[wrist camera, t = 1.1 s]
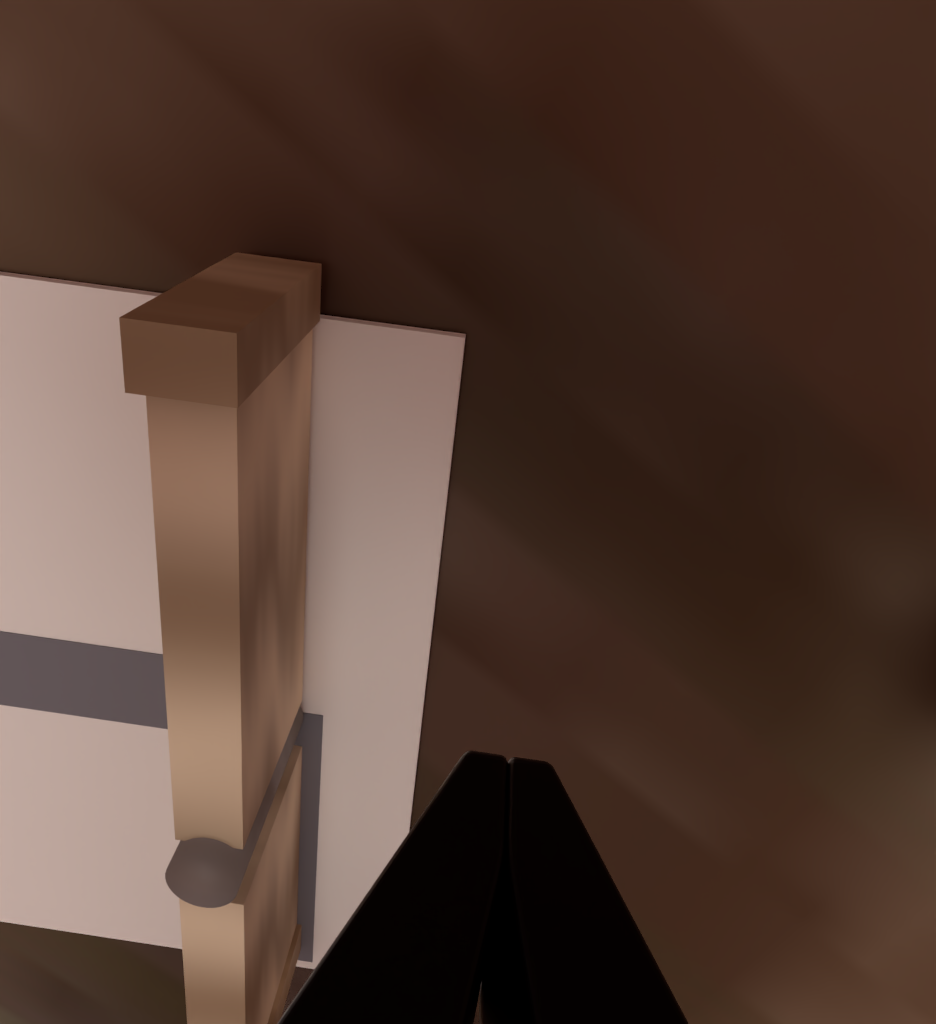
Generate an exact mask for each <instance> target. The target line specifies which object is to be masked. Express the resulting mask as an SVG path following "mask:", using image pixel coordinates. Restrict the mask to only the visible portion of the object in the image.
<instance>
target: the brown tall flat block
mask: <svg viewBox="0 0 936 1024" xmlns="http://www.w3.org/2000/svg"><path fill="white" fill-rule="evenodd" d="M321 272H322V264H320V263H313V262H305V261H298V260H290V259H283V258H275V257H268V256H260V255H252V254H245V253H237V252H236V253H234V254H232V255H230V256H228V257H227V258H225V259H223V260H221V261H220V262H218V263H216V264H214V265H212V266H211V267H209V268H207V269H205V270H203V271H202V272H200V273H198V274H196V275H194V276H193V277H191V278H189V279H187V280H185V281H184V282H182V283H180V284H178V285H176V286H175V287H173V288H171V289H169V290H167V291H166V292H164V293H162V294H160V295H158V296H157V297H155V298H153V299H151V300H149V301H148V302H146V303H144V304H142V305H141V306H139V307H137V308H135V309H133V310H132V311H130V312H128V313H126V314H124V315H123V316H121V317H119V323H120V336H121V348H122V361H123V374H124V387H125V393H130V394H138V395H145V396H146V408H147V423H148V438H149V453H150V468H151V483H152V498H153V513H154V528H155V543H156V558H157V573H158V589H159V604H160V619H161V634H162V649H163V664H164V679H165V694H166V709H167V724H168V739H169V754H170V769H171V784H172V800H173V815H174V830H175V840H180V842H179V844H178V846H177V848H176V851H175V853H174V855H173V857H172V859H171V861H170V863H169V865H168V867H167V869H166V872H165V879H166V883H167V885H168V887H169V888H170V890H171V891H172V892H173V893H174V894H175V895H176V896H177V897H179V898H180V899H181V900H183V901H185V902H187V903H189V904H192V905H195V906H198V907H204V908H217V907H222V906H225V905H227V904H229V903H230V902H232V901H233V900H234V899H235V897H236V895H237V893H238V891H239V888H240V885H241V883H242V880H243V877H244V875H245V872H246V870H247V867H248V864H249V862H250V859H251V856H252V854H253V851H254V849H255V846H256V843H257V841H258V838H259V835H260V833H261V830H262V828H263V825H264V822H265V820H266V817H267V814H268V812H269V809H270V807H271V804H272V801H273V799H274V796H275V793H276V791H277V788H278V786H279V783H280V780H281V778H282V775H283V772H284V770H285V767H286V765H287V762H288V759H289V757H290V754H291V752H292V749H293V746H294V744H295V741H296V738H297V736H298V733H299V731H300V728H301V725H302V723H303V711H302V708H301V707H300V704H301V702H302V688H303V653H304V618H305V582H306V547H307V512H308V477H309V442H310V407H311V372H312V336H313V328H314V327H315V326H316V325H317V323H318V322H319V321H320V302H321Z"/></svg>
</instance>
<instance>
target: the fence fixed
mask: <svg viewBox="0 0 936 1024" xmlns="http://www.w3.org/2000/svg"><path fill="white" fill-rule="evenodd" d="M301 770H302V746H297V745H294V746H293V749H292V752H291V754H290V757H289V759H288V762H287V765H286V767H285V770H284V772H283V775H282V778H281V780H280V783H279V786H278V788H277V791H276V793H275V796H274V799H273V801H272V804H271V807H270V809H269V812H268V814H267V817H266V820H265V822H264V825H263V828H262V830H261V833H260V835H259V838H258V841H257V843H256V846H255V849H254V851H253V854H252V856H251V859H250V862H249V864H248V867H247V870H246V872H245V875H244V877H243V880H242V883H241V885H240V888H239V891H238V893H237V895H236V897H235V899H234V900H233V901H232V902H230V903H229V904H227V905H225V906H222V907H217V908H204V907H198V906H195V905H192V904H189V903H187V902H185V901H183V900H181V899H180V898H179V905H180V920H181V935H182V950H183V965H184V980H185V996H186V1011H187V1024H277V1023H278V1021H279V1020H280V1018H281V1017H282V1013H283V1010H284V1006H285V1003H286V999H287V996H288V992H289V988H290V985H291V981H292V978H293V974H294V971H295V967H296V964H297V960H298V957H299V953H300V950H301V927H302V925H299V924H297V906H298V872H299V838H300V804H301Z"/></svg>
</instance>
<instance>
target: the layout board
mask: <svg viewBox="0 0 936 1024" xmlns="http://www.w3.org/2000/svg"><path fill="white" fill-rule="evenodd" d="M160 294H162V293H157V292H150V291H142V290H135V289H128V288H120V287H113V286H105V285H98V284H90V283H83V282H76V281H68V280H61V279H53V278H46V277H38V276H31V275H23V274H16V273H9V272H1V271H0V921H2V922H8V923H15V924H21V925H28V926H34V927H41V928H48V929H54V930H61V931H67V932H74V933H80V934H87V935H93V936H100V937H107V938H113V939H120V940H126V941H133V942H139V943H146V944H152V945H159V946H166V947H172V948H179V949H182V935H181V920H180V905H179V897H177V896H176V895H175V894H174V893H173V892H172V891H171V890H170V888H169V887H168V885H167V883H166V879H165V872H166V869H167V867H168V865H169V863H170V861H171V859H172V857H173V855H174V853H175V851H176V848H177V846H178V844H179V842H180V840H175V830H174V815H173V800H172V784H171V769H170V754H169V739H168V724H167V709H166V694H165V679H164V664H163V649H162V634H161V619H160V604H159V589H158V573H157V558H156V543H155V528H154V513H153V498H152V483H151V468H150V453H149V438H148V423H147V408H146V396H145V395H138V394H130V393H125V387H124V374H123V361H122V348H121V336H120V323H119V317H121V316H123V315H124V314H126V313H128V312H130V311H132V310H133V309H135V308H137V307H139V306H141V305H142V304H144V303H146V302H148V301H149V300H151V299H153V298H155V297H157V296H158V295H160ZM465 338H466V334H462V333H455V332H447V331H440V330H433V329H425V328H418V327H410V326H403V325H395V324H388V323H380V322H373V321H366V320H358V319H351V318H343V317H336V316H328V315H321V314H320V321H319V322H318V323H317V325H316V326H315V327H314V328H313V336H312V372H311V407H310V442H309V477H308V512H307V547H306V582H305V618H304V653H303V688H302V702H301V704H300V707H301V708H302V711H303V723H302V725H301V728H300V731H299V733H298V736H297V738H296V741H295V744H294V745H297V746H302V770H301V804H300V838H299V872H298V906H297V924H299V925H302V927H301V950H300V953H299V957H298V960H297V964H296V966H297V967H303V968H310V969H315V968H316V966H317V965H318V963H319V962H320V961H321V959H322V958H323V956H324V955H325V953H326V952H327V950H328V949H329V948H330V946H331V945H332V943H333V942H334V940H335V939H336V937H337V936H338V934H339V933H340V932H341V930H342V929H343V927H344V926H345V924H346V923H347V921H348V920H349V919H350V917H351V916H352V914H353V913H354V911H355V910H356V908H357V907H358V906H359V904H360V903H361V901H362V900H363V898H364V897H365V895H366V894H367V893H368V891H369V890H370V888H371V887H372V885H373V884H374V882H375V881H376V879H377V878H378V877H379V875H380V874H381V872H382V871H383V869H384V868H385V866H386V865H387V864H388V862H389V861H390V859H391V858H392V856H393V855H394V853H395V852H396V851H397V849H398V848H399V846H400V845H401V843H402V842H403V840H404V839H405V837H406V836H407V835H408V833H409V832H410V823H411V814H412V805H413V796H414V788H415V779H416V770H417V761H418V752H419V744H420V735H421V726H422V717H423V708H424V699H425V691H426V682H427V673H428V664H429V655H430V647H431V638H432V629H433V620H434V611H435V603H436V594H437V585H438V576H439V567H440V558H441V550H442V541H443V532H444V523H445V514H446V506H447V497H448V488H449V479H450V470H451V462H452V453H453V444H454V435H455V426H456V418H457V409H458V400H459V391H460V382H461V373H462V365H463V356H464V347H465Z"/></svg>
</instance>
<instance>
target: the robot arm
mask: <svg viewBox="0 0 936 1024" xmlns="http://www.w3.org/2000/svg"><path fill="white" fill-rule="evenodd" d="M479 991H480V1010H479V1024H688V1022H687V1020H686V1018H685V1016H684V1014H683V1012H682V1010H681V1008H680V1006H679V1005H678V1003H677V1001H676V999H675V997H674V995H673V993H672V991H671V989H670V988H669V986H668V984H667V982H666V980H665V978H664V976H663V974H662V972H661V970H660V969H659V967H658V965H657V963H656V961H655V959H654V957H653V955H652V953H651V951H650V950H649V948H648V946H647V944H646V942H645V940H644V938H643V936H642V934H641V933H640V931H639V929H638V927H637V925H636V923H635V921H634V919H633V917H632V915H631V914H630V912H629V910H628V908H627V906H626V904H625V902H624V900H623V898H622V896H621V895H620V893H619V891H618V889H617V887H616V885H615V883H614V881H613V879H612V878H611V876H610V874H609V872H608V870H607V868H606V866H605V864H604V862H603V860H602V859H601V857H600V855H599V853H598V851H597V849H596V847H595V845H594V843H593V841H592V840H591V838H590V836H589V834H588V832H587V830H586V828H585V826H584V824H583V823H582V821H581V819H580V817H579V815H578V813H577V811H576V809H575V807H574V805H573V804H572V802H571V800H570V798H569V796H568V794H567V792H566V790H565V788H564V786H563V785H562V783H561V781H560V779H559V777H558V775H557V773H556V771H555V770H554V768H553V766H552V765H551V764H549V763H548V762H545V761H539V760H532V759H525V758H518V757H513V758H511V759H510V760H509V761H508V763H507V760H506V758H505V757H504V756H502V755H497V754H491V753H484V752H477V751H468V752H466V753H464V754H463V755H462V757H461V758H460V759H459V761H458V762H457V764H456V765H455V767H454V768H453V769H452V771H451V772H450V774H449V775H448V777H447V778H446V780H445V781H444V782H443V784H442V785H441V787H440V788H439V790H438V791H437V793H436V794H435V795H434V797H433V798H432V800H431V801H430V803H429V804H428V806H427V807H426V809H425V810H424V811H423V813H422V814H421V816H420V817H419V819H418V820H417V822H416V823H415V824H414V826H413V827H412V829H411V830H410V832H409V833H408V835H407V836H406V837H405V839H404V840H403V842H402V843H401V845H400V846H399V848H398V849H397V851H396V852H395V853H394V855H393V856H392V858H391V859H390V861H389V862H388V864H387V865H386V866H385V868H384V869H383V871H382V872H381V874H380V875H379V877H378V878H377V879H376V881H375V882H374V884H373V885H372V887H371V888H370V890H369V891H368V893H367V894H366V895H365V897H364V898H363V900H362V901H361V903H360V904H359V906H358V907H357V908H356V910H355V911H354V913H353V914H352V916H351V917H350V919H349V920H348V921H347V923H346V924H345V926H344V927H343V929H342V930H341V932H340V933H339V934H338V936H337V937H336V939H335V940H334V942H333V943H332V945H331V946H330V948H329V949H328V950H327V952H326V953H325V955H324V956H323V958H322V959H321V961H320V962H319V963H318V965H317V966H316V968H315V969H314V971H313V972H312V974H311V975H310V976H309V978H308V979H307V981H306V982H305V984H304V985H303V987H302V988H301V990H300V991H299V992H298V994H297V995H296V997H295V998H294V1000H293V1001H292V1003H291V1004H290V1005H289V1007H288V1008H287V1010H286V1011H285V1013H284V1014H283V1016H282V1017H281V1018H280V1020H279V1021H278V1023H277V1024H473V1023H474V1018H475V1012H476V1007H477V1002H478V996H479Z"/></svg>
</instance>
